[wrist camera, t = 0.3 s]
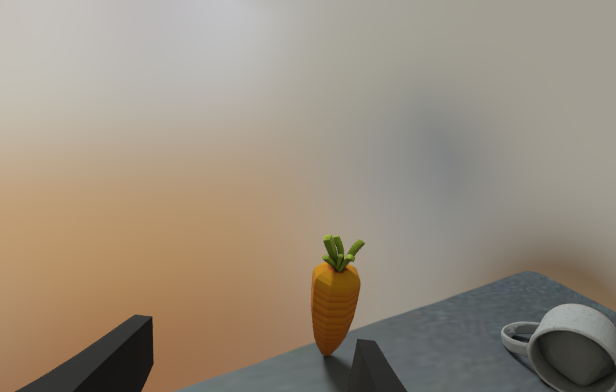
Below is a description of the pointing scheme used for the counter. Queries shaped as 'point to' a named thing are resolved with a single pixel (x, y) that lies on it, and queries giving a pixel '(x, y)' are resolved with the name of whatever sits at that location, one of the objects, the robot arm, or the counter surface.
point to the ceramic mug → (569, 348)
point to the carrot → (334, 295)
